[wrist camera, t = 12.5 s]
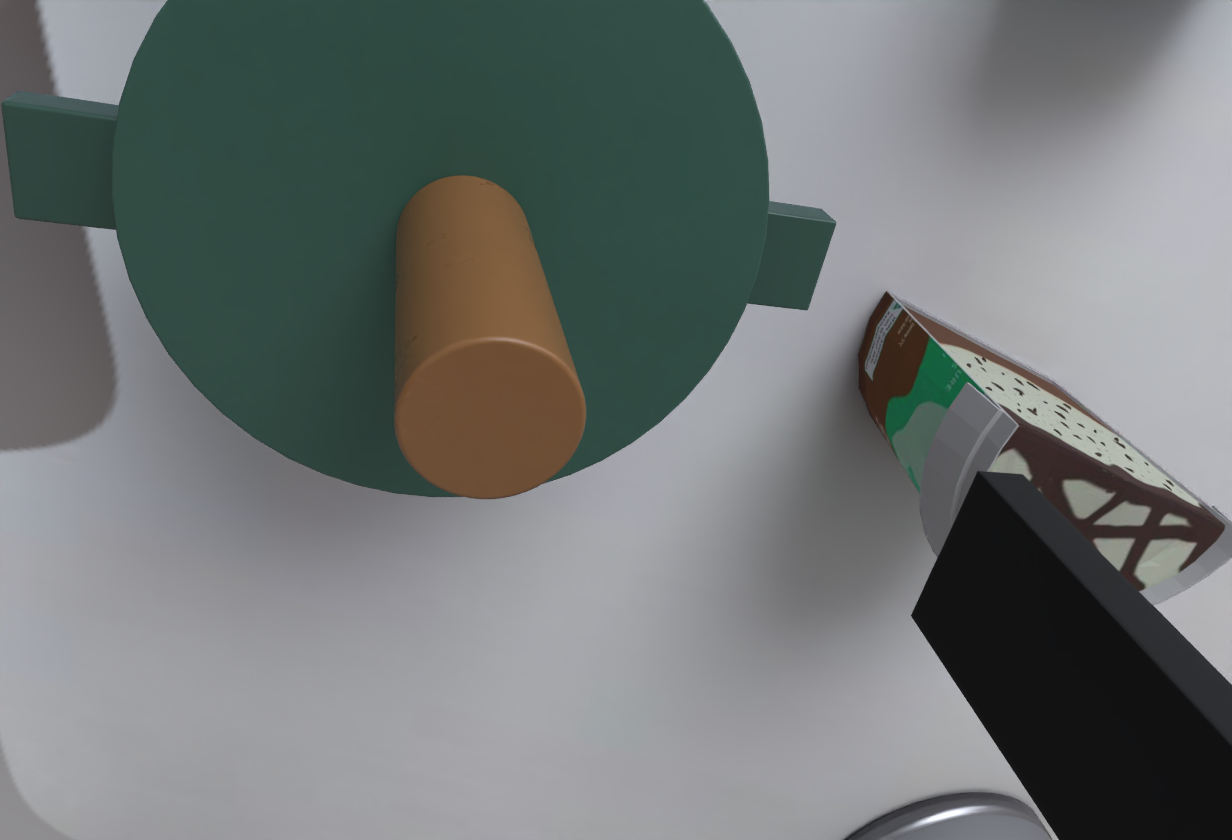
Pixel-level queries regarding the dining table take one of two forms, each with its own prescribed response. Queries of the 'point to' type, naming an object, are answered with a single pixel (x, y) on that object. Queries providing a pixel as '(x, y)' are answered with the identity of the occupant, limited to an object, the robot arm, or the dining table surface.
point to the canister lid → (441, 225)
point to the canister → (81, 195)
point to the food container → (1028, 450)
